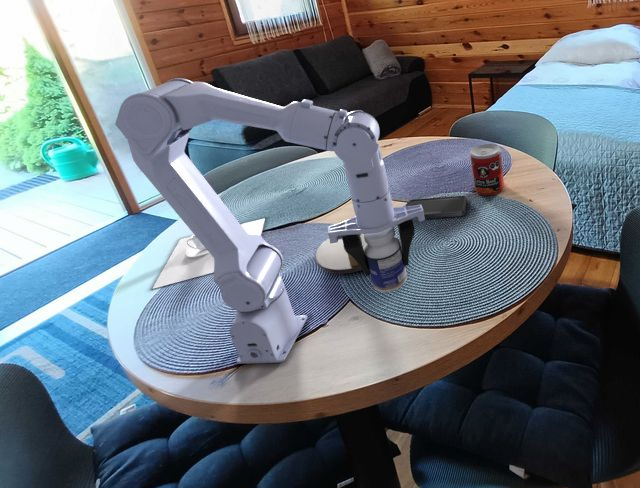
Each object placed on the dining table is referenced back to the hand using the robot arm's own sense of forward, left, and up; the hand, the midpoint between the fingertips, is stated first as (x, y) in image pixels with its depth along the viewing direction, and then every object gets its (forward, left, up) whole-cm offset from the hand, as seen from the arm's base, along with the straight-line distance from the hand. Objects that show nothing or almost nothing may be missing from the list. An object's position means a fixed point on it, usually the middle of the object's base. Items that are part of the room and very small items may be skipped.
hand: (387, 267), depth 70 cm
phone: (+35, -2, -10) cm, 36 cm away
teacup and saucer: (+24, +49, -10) cm, 56 cm away
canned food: (+44, -15, -10) cm, 47 cm away
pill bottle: (0, 0, -3) cm, 3 cm away
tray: (+19, +13, -9) cm, 25 cm away
